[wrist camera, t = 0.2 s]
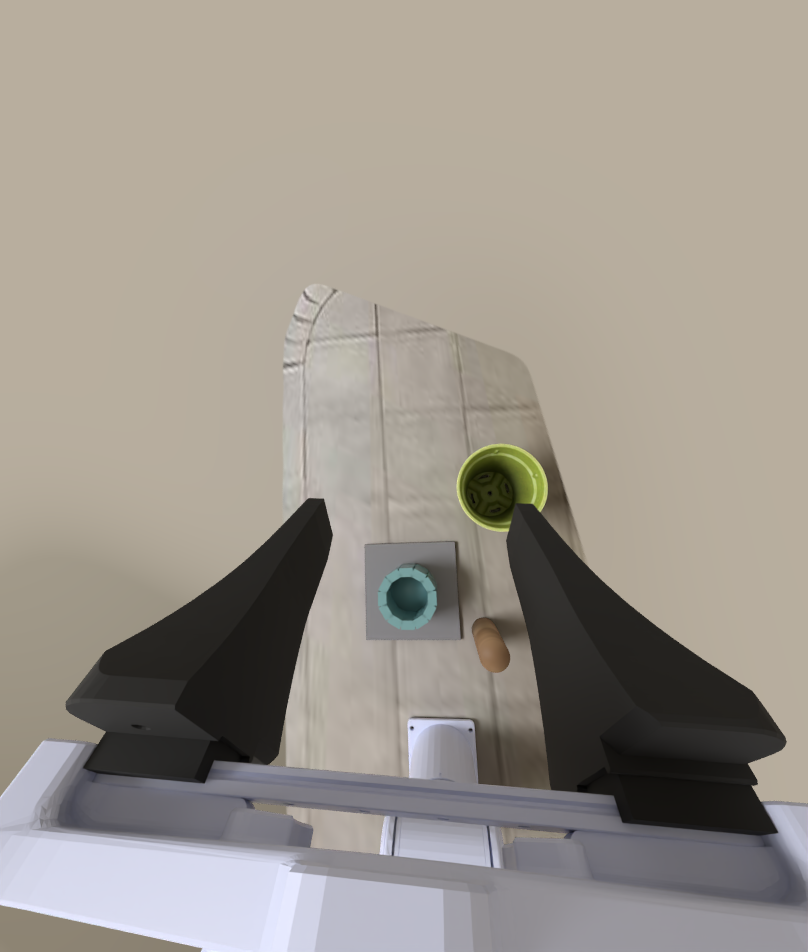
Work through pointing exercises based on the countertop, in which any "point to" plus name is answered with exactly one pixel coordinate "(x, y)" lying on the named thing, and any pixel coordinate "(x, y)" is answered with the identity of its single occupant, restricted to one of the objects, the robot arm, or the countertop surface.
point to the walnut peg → (490, 645)
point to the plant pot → (500, 484)
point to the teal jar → (408, 596)
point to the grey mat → (442, 568)
